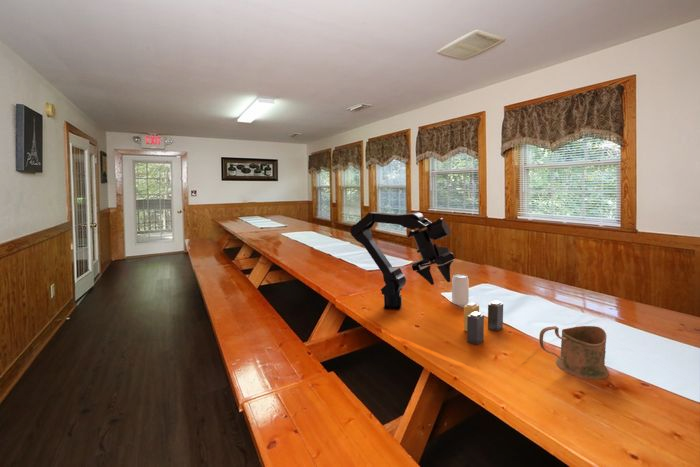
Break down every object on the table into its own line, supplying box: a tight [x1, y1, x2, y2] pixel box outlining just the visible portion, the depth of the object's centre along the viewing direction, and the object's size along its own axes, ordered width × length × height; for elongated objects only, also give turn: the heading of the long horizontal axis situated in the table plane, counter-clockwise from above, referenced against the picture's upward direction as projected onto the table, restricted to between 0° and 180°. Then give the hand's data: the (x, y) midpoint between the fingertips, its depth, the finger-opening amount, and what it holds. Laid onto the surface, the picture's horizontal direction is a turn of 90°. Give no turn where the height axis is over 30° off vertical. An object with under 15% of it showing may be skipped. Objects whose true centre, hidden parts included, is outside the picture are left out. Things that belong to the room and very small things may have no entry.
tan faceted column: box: [463, 301, 480, 332], centre depth 112 cm, size 3×4×9 cm
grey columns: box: [466, 300, 504, 346], centre depth 112 cm, size 18×19×10 cm
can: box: [451, 273, 470, 306], centre depth 137 cm, size 6×6×12 cm
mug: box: [538, 325, 609, 381], centre depth 89 cm, size 12×18×12 cm, turn 95°
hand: (440, 283), depth 126 cm, fingers open, 9 cm apart
